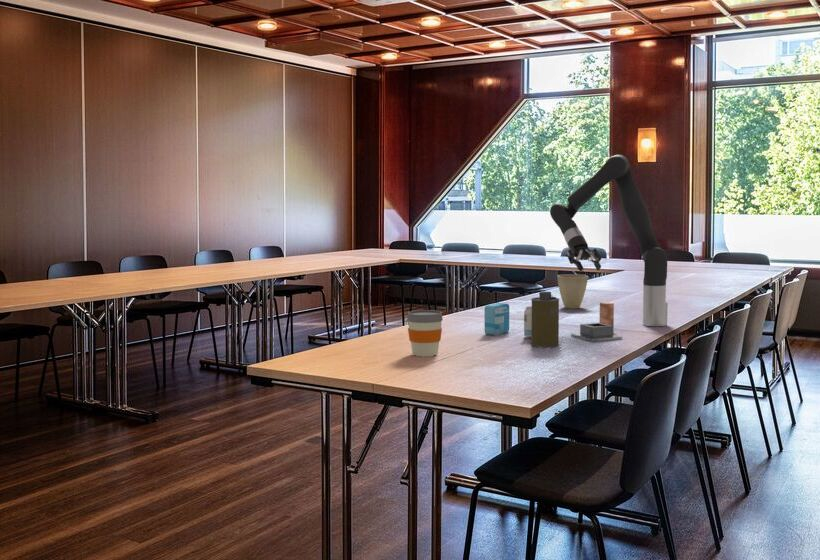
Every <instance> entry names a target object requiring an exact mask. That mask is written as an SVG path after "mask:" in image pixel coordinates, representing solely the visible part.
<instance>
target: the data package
mask: <svg viewBox="0 0 820 560" xmlns="http://www.w3.org/2000/svg"><path fill="white" fill-rule="evenodd" d="M509 331H510V305H509V303H505V302H504V303H503V302H497V303H490V304H486V305H485V306H484V334H485V335H486V336H487V335H488V336H499V335H503V334H506V333H509Z"/></svg>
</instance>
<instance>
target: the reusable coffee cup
mask: <svg viewBox="0 0 820 560" xmlns="http://www.w3.org/2000/svg"><path fill="white" fill-rule="evenodd" d="M406 318H407V320H406V322H407V324H408V328H407V332H408V337H409V339H408V340H409V342H410V346H411V353H412V356H414V355H416V356H415V357H419V356H430V357H435V356H434V355H436V356H438V355H437V354H439V347H440V342H441V338H442V330H443V328H442V321H443V313H442V311H439V310H433V309H432V310H431V309H428V310H427V309H426V310H425V309H419V310H411V311H408V312H407V317H406Z"/></svg>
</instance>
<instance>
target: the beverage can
mask: <svg viewBox="0 0 820 560" xmlns="http://www.w3.org/2000/svg"><path fill="white" fill-rule="evenodd" d="M523 336H525V337H526V339H531V340H532V306H526V307H525V309H524V312H523Z"/></svg>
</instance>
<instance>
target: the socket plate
mask: <svg viewBox="0 0 820 560" xmlns="http://www.w3.org/2000/svg"><path fill="white" fill-rule="evenodd" d="M570 336H571V337H572V336H573V338H576V339H579V338H580V340H584V341H587V342H591V343H594V342H603V341H616V340H623V336H621V335H617V334H614V333H613V326H611V325H607V324H603V323H600V322H592V323H581V324H579V332H577V333H576V332H575V333H571V335H570Z"/></svg>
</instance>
